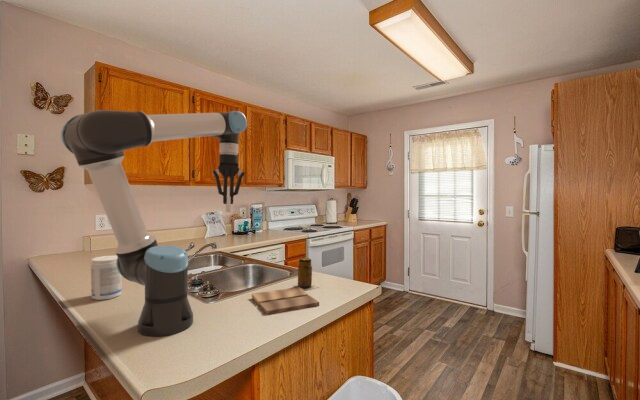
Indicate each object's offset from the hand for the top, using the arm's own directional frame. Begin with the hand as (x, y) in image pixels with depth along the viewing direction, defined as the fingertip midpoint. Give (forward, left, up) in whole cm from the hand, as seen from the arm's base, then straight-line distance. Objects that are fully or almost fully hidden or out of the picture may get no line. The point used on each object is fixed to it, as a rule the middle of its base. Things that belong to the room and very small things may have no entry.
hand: (227, 211), depth 130 cm
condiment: (+31, -10, -32) cm, 46 cm away
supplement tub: (-43, +10, -32) cm, 54 cm away
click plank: (+16, -19, -32) cm, 40 cm away
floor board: (+16, -28, -32) cm, 46 cm away
